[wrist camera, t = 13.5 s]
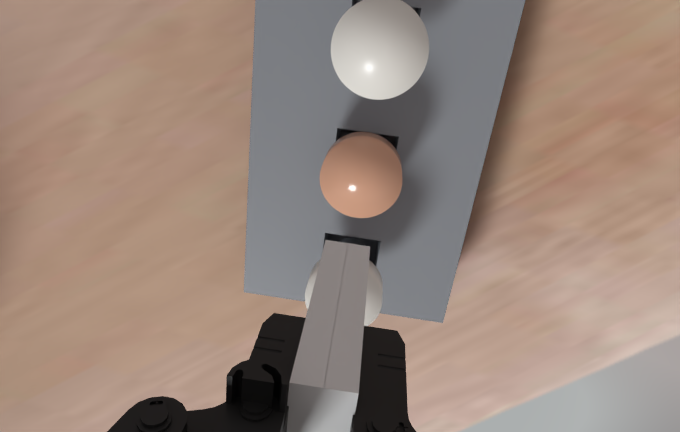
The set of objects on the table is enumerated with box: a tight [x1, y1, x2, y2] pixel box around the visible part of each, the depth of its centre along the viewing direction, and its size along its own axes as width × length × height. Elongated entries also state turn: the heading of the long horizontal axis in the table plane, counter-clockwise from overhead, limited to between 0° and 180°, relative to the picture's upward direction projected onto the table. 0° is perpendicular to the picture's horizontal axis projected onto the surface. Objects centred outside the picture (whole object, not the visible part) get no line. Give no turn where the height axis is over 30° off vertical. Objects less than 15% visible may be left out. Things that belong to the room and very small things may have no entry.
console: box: [244, 0, 525, 323], centre depth 30 cm, size 13×20×4 cm, turn 174°
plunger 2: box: [305, 238, 383, 326], centre depth 29 cm, size 4×4×5 cm
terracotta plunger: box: [320, 132, 402, 218], centre depth 28 cm, size 4×4×5 cm
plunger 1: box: [331, 0, 429, 100], centre depth 24 cm, size 4×4×5 cm
